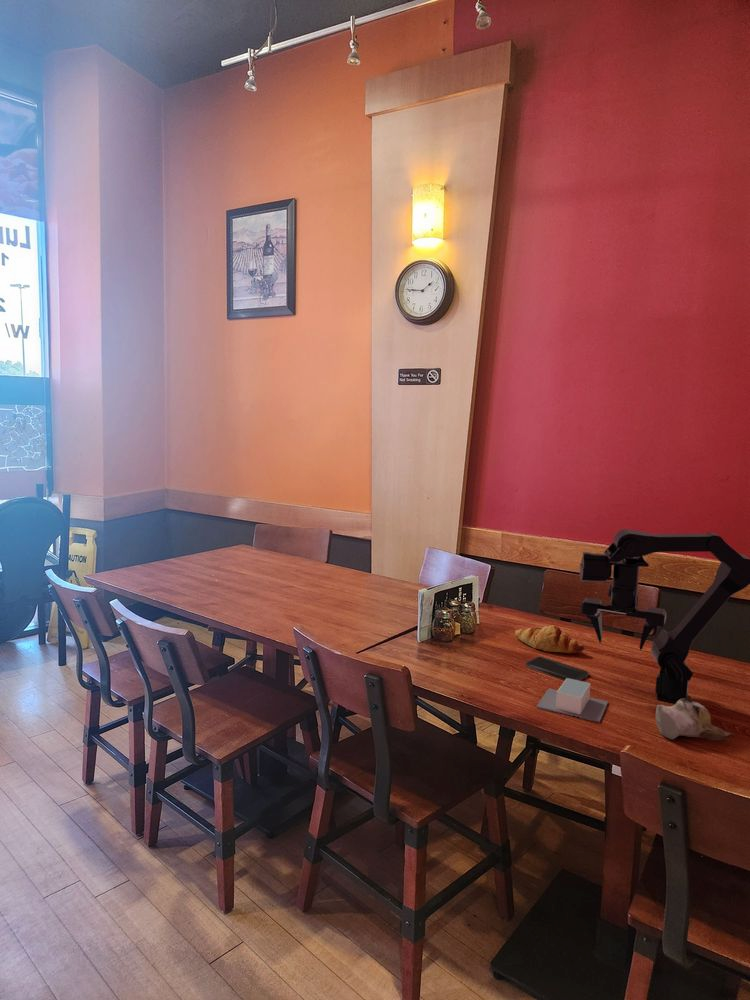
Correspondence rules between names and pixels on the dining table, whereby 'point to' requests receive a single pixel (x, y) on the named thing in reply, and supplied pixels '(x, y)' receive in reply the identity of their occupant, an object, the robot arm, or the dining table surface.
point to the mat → (590, 712)
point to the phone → (556, 669)
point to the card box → (573, 696)
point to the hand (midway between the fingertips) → (620, 645)
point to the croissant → (549, 639)
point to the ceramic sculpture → (687, 721)
